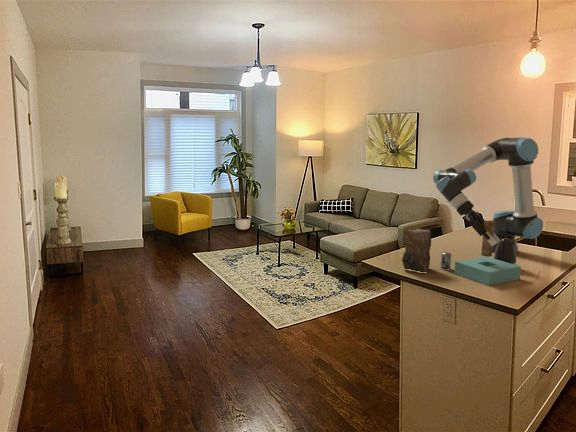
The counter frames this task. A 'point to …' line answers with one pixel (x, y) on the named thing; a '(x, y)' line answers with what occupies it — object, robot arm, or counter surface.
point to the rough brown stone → (417, 250)
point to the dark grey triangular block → (506, 251)
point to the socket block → (487, 270)
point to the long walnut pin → (485, 244)
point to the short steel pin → (446, 260)
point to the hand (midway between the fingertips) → (496, 243)
